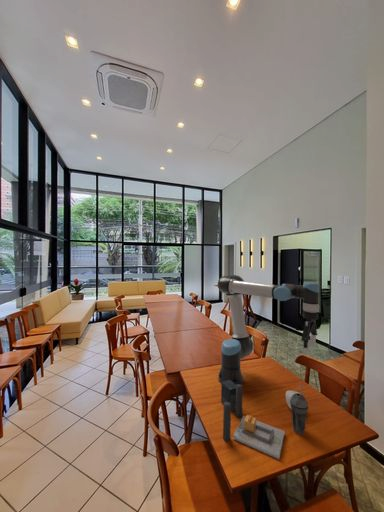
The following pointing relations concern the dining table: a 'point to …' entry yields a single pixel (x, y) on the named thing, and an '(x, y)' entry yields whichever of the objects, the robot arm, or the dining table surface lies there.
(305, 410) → the beverage cup
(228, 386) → the box
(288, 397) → the cup
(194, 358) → the dining table surface
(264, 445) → the breaker panel
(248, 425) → the block
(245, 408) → the dining table surface
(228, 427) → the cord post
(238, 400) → the cord post
